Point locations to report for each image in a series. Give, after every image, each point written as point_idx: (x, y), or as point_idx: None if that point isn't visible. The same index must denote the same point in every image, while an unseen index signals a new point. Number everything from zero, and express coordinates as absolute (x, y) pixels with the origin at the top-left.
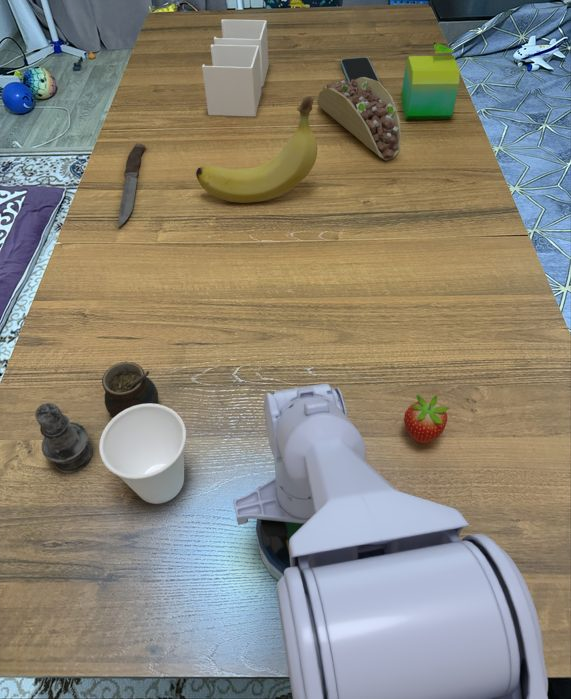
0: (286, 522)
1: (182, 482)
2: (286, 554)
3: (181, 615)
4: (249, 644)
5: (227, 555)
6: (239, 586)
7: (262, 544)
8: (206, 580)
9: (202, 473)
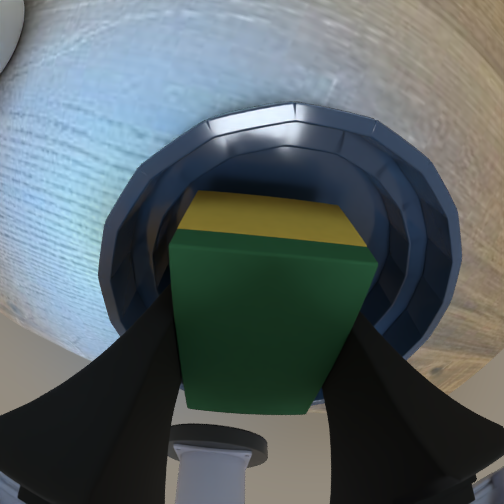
0: (188, 352)
1: (1, 48)
2: None
3: (28, 288)
4: None
5: (77, 222)
6: None
7: (117, 319)
8: (48, 255)
9: (60, 9)
